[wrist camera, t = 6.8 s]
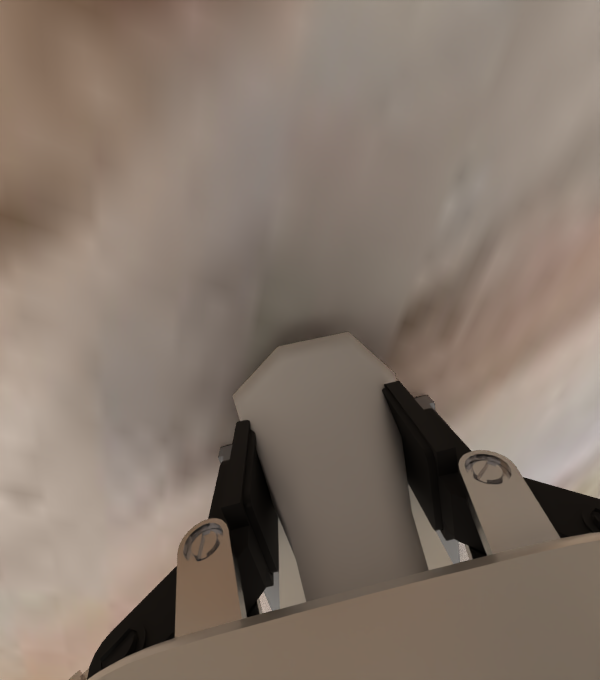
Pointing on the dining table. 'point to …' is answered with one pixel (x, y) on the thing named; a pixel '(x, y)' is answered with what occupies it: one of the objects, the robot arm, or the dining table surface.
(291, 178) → the dining table surface
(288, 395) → the flask
